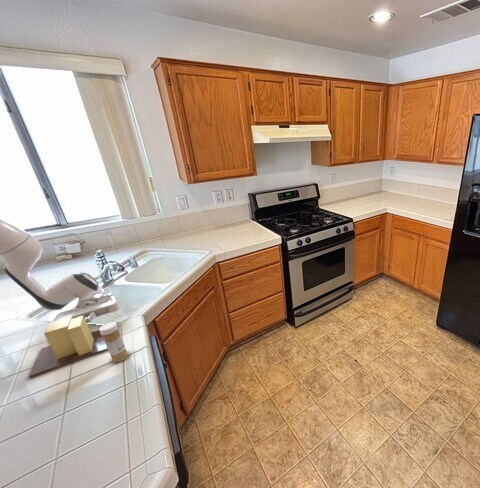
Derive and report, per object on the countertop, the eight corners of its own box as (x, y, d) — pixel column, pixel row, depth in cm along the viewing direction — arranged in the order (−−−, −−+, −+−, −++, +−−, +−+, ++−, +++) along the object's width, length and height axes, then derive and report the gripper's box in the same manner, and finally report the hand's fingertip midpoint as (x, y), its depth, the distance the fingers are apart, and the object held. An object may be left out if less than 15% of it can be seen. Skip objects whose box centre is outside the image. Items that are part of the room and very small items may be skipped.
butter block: (57, 359, 90) (43, 333, 87) (61, 347, 96) (49, 322, 92) (79, 351, 94) (67, 325, 90) (82, 340, 99) (71, 316, 95)
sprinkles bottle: (124, 351, 93) (111, 320, 89) (131, 355, 91) (119, 323, 87) (109, 360, 90) (95, 328, 85) (116, 364, 88) (103, 331, 83)
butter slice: (79, 355, 91) (66, 329, 88) (82, 343, 97) (70, 319, 94) (91, 351, 93) (80, 325, 89) (93, 340, 99) (83, 315, 95)
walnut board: (29, 378, 84) (28, 376, 84) (42, 349, 96) (41, 348, 96) (114, 347, 96) (113, 345, 95) (116, 326, 108) (115, 324, 108)
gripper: (54, 308, 106) (45, 325, 95) (116, 291, 117) (115, 305, 106) (60, 321, 108) (52, 339, 98) (121, 303, 119) (120, 318, 108)
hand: (85, 321), depth 102 cm, fingers closed
